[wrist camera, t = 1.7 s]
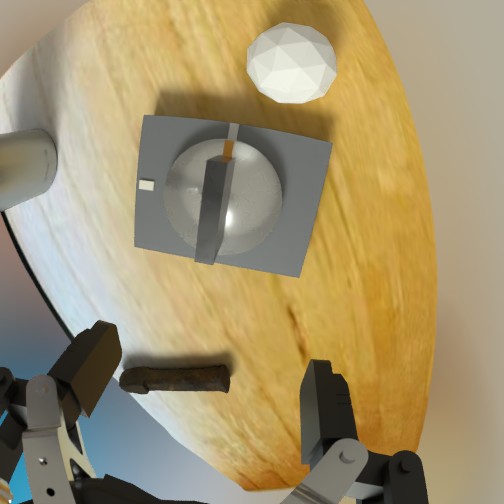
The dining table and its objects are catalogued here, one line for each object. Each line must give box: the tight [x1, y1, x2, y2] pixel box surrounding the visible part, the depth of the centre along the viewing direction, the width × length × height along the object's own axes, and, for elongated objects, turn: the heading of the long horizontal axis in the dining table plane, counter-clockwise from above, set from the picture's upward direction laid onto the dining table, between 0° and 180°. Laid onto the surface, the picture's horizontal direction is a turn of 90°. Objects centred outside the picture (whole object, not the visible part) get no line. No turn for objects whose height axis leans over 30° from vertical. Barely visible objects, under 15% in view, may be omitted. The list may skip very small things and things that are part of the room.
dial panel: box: [134, 115, 333, 278], centre depth 27 cm, size 18×14×3 cm
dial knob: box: [163, 139, 282, 265], centre depth 23 cm, size 11×11×6 cm
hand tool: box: [119, 365, 230, 394], centre depth 38 cm, size 19×4×5 cm, turn 99°
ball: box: [247, 22, 337, 104], centre depth 20 cm, size 8×8×8 cm
